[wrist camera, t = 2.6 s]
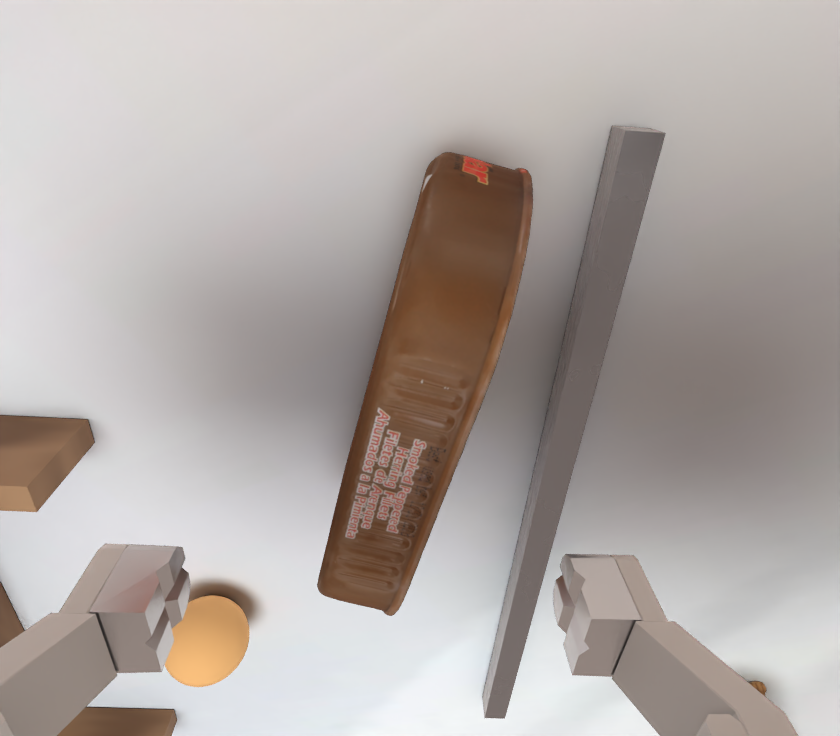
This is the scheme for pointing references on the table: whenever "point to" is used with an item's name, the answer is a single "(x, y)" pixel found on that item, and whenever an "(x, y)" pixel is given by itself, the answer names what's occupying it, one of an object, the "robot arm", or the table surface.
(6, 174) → the table surface
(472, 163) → the tin
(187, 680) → the ball
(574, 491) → the table surface
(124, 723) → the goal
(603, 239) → the rail
